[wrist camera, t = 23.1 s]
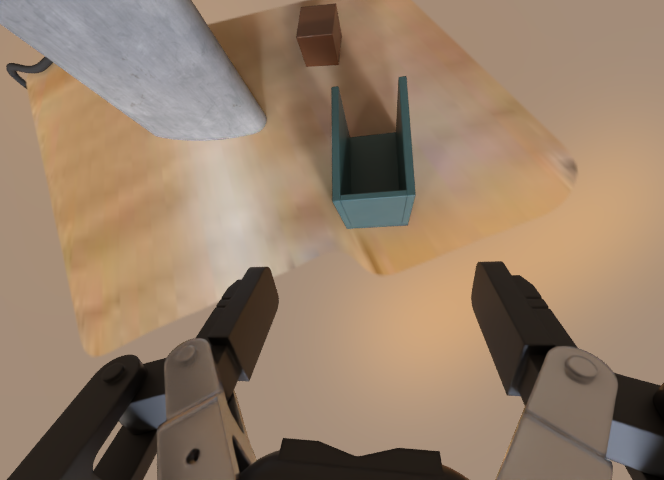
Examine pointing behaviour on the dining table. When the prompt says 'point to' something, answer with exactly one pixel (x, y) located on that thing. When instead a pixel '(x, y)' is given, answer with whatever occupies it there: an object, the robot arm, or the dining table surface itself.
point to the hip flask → (143, 62)
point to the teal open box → (373, 169)
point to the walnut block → (319, 35)
